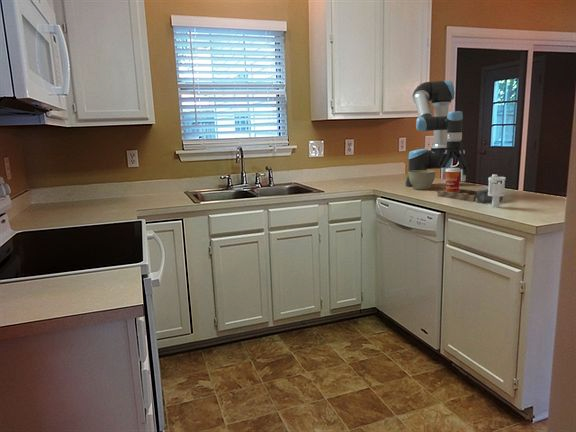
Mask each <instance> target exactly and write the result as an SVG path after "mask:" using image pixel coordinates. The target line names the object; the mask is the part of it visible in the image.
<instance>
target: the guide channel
mask: <svg viewBox="0 0 576 432" xmlns="http://www.w3.org/2000/svg"><path fill="white" fill-rule="evenodd" d="M437 197H441V198H448V199H453V200H458V201H459V200H460V201H466V202H472V203H475V202H476V203H478V204H483V205H484V204H489V203H492V196H488V188H486V189H479V190H475V189H474V190H472V189H466V188H465V189H464V188H459V192H458V193H453V192H446V190H437ZM503 200H504V196H500V198H499V202H500V201H503Z"/></svg>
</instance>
